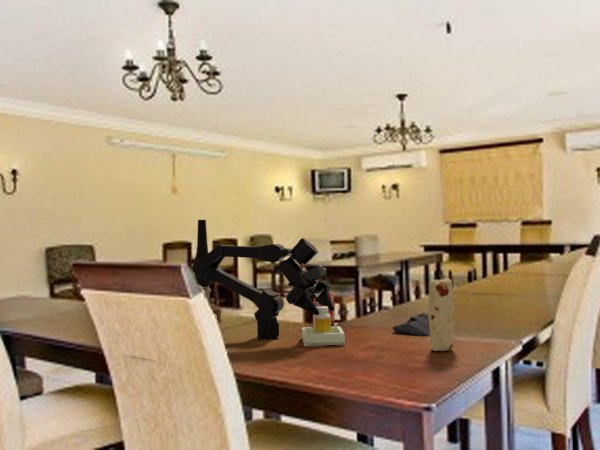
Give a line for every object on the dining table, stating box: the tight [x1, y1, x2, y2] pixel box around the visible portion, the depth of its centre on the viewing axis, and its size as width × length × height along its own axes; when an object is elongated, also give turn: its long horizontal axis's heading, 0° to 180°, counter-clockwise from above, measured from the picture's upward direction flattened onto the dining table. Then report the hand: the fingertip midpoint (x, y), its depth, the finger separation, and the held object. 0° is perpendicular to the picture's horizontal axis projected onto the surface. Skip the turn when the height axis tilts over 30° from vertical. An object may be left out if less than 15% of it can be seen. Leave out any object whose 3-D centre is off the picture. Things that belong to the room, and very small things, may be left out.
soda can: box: [313, 290, 335, 326], centre depth 195 cm, size 7×7×12 cm
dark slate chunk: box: [392, 312, 430, 337], centre depth 184 cm, size 15×22×5 cm
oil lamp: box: [193, 219, 223, 324], centre depth 205 cm, size 14×15×40 cm
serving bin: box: [301, 325, 346, 347], centre depth 166 cm, size 12×12×4 cm
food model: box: [427, 277, 456, 352], centre depth 152 cm, size 10×7×20 cm
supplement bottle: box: [312, 306, 332, 334], centre depth 166 cm, size 5×5×10 cm
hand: (326, 312), depth 166 cm, fingers open, 9 cm apart
